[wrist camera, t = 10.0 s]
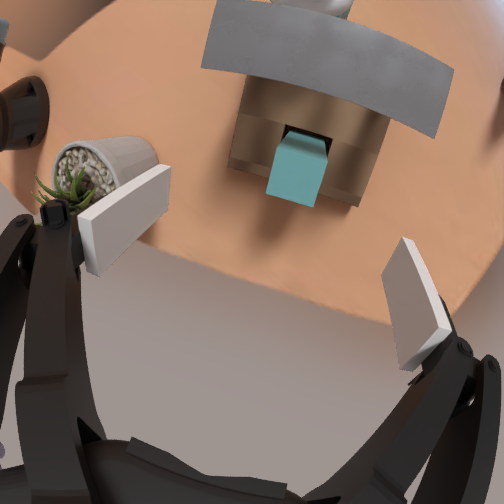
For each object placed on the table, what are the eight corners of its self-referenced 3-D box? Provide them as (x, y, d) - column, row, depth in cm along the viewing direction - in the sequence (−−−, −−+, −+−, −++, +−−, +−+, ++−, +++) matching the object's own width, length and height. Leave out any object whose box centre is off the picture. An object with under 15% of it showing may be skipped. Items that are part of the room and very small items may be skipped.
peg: (283, 159, 32) (265, 193, 22) (291, 129, 30) (276, 147, 20) (315, 169, 32) (312, 207, 22) (324, 138, 29) (327, 162, 19)
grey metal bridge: (251, 78, 27) (200, 67, 15) (261, 37, 24) (217, -2, 12) (384, 118, 26) (434, 138, 14) (396, 77, 23) (454, 69, 11)
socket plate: (233, 162, 33) (227, 167, 31) (260, 41, 24) (256, 36, 22) (355, 199, 32) (357, 207, 30) (395, 81, 23) (401, 80, 21)
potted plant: (93, 177, 39) (1, 236, 23) (124, 107, 32) (6, 143, 15) (145, 222, 42) (63, 304, 25) (187, 156, 34) (81, 225, 18)
